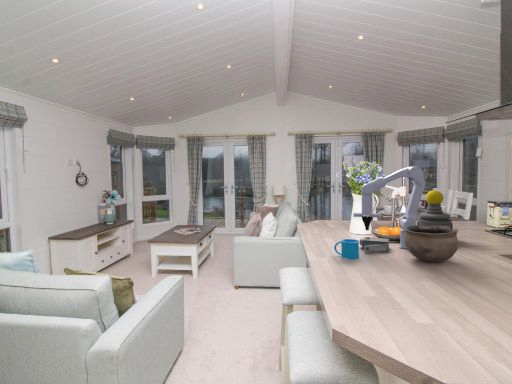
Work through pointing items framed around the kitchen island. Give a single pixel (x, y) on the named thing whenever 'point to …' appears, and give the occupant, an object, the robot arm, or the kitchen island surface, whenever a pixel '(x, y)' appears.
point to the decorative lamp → (435, 212)
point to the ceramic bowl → (431, 242)
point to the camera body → (373, 241)
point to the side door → (376, 248)
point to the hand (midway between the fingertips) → (367, 230)
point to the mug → (349, 248)
